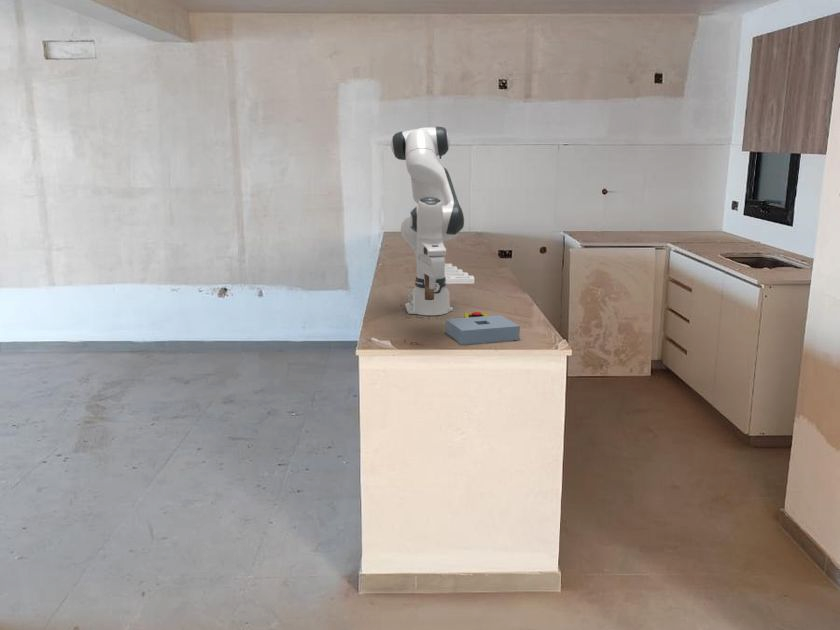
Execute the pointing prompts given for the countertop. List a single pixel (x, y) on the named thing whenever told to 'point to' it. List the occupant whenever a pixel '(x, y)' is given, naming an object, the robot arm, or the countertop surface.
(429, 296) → the peg
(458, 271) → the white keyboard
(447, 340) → the countertop surface
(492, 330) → the socket block
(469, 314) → the emergency button
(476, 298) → the countertop surface
